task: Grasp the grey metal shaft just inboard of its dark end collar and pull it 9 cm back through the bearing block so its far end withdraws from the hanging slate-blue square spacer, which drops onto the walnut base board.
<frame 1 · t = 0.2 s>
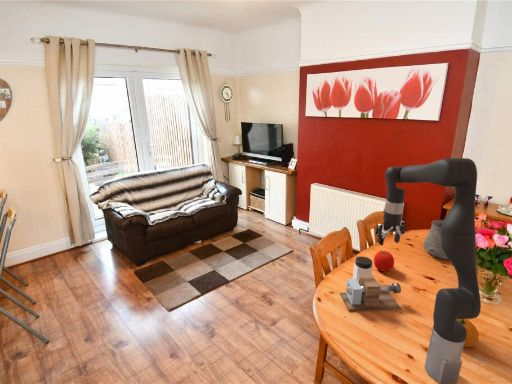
hand: (388, 243, 137), 27 cm above the table, fingers open, 8 cm apart
vessel: (439, 254, 181), on the table
bearing block: (367, 301, 139), on the table
shaft: (373, 288, 137), point 7 cm above the table, slide at 0.0 cm, touching spacer
fruit: (458, 339, 118), on the table
spacer: (352, 298, 138), point 2 cm above the table, touching shaft
tomato: (382, 269, 166), on the table
jar: (361, 280, 156), on the table
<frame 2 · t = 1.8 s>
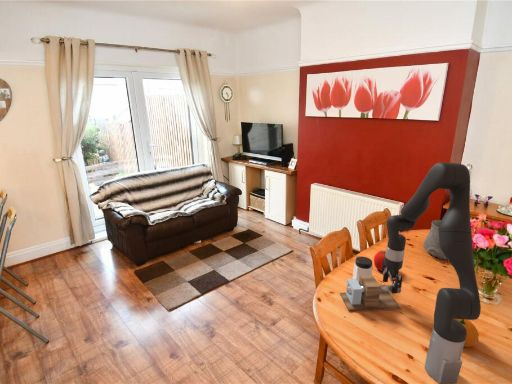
hand: (389, 287, 138), 8 cm above the table, fingers open, 8 cm apart
nothing on the table moved.
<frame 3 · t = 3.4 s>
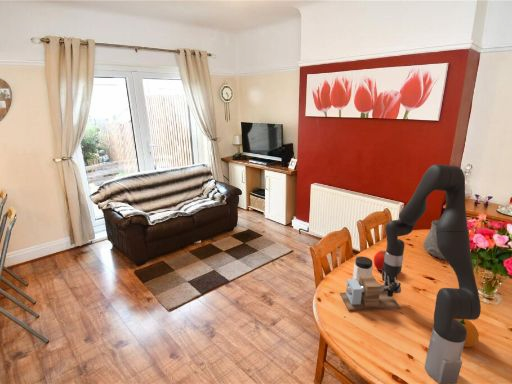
hand: (388, 293, 138), 4 cm above the table, fingers closed on shaft, 3 cm apart
shaft: (373, 288, 137), point 7 cm above the table, slide at 0.0 cm, touching gripper, spacer
everything else where it was.
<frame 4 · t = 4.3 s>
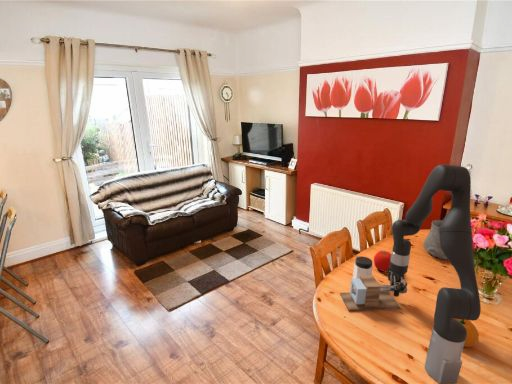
hand: (394, 293, 139), 4 cm above the table, fingers closed on shaft, 3 cm apart
shaft: (379, 288, 137), point 7 cm above the table, slide at 2.9 cm, touching gripper
spacer: (357, 298, 138), point 2 cm above the table
everything else where it was.
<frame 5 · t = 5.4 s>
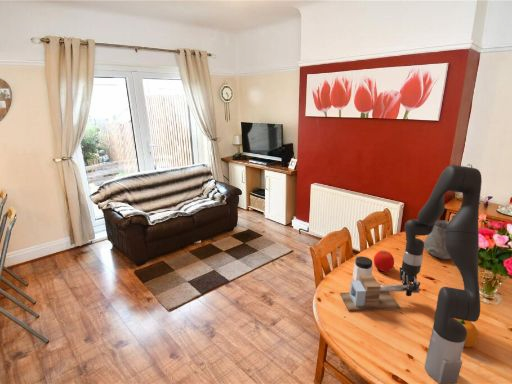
hand: (406, 293, 139), 4 cm above the table, fingers closed on shaft, 3 cm apart
shaft: (391, 288, 138), point 7 cm above the table, slide at 8.8 cm, touching gripper
spacer: (356, 300, 139), point 1 cm above the table, touching bearing block
everything else where it was.
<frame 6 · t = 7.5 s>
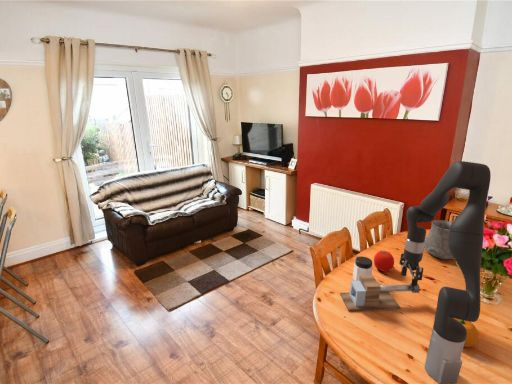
hand: (408, 280, 137), 11 cm above the table, fingers open, 8 cm apart
shaft: (391, 288, 138), point 7 cm above the table, slide at 8.9 cm
everything else where it was.
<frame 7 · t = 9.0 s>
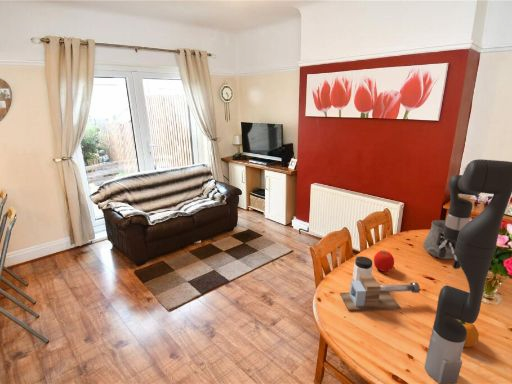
hand: (448, 262, 120), 28 cm above the table, fingers open, 8 cm apart
nothing on the table moved.
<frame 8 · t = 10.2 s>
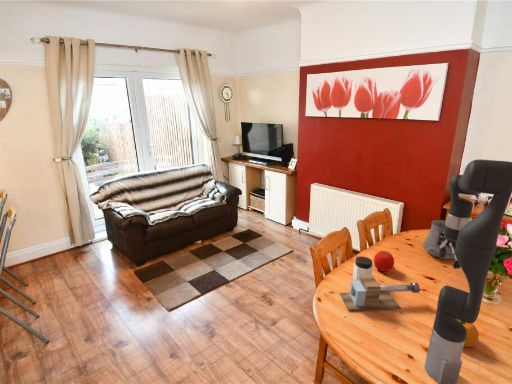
hand: (448, 262, 119), 28 cm above the table, fingers open, 8 cm apart
nothing on the table moved.
at the end: shaft slide at 8.9 cm; spacer touching bearing block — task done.
